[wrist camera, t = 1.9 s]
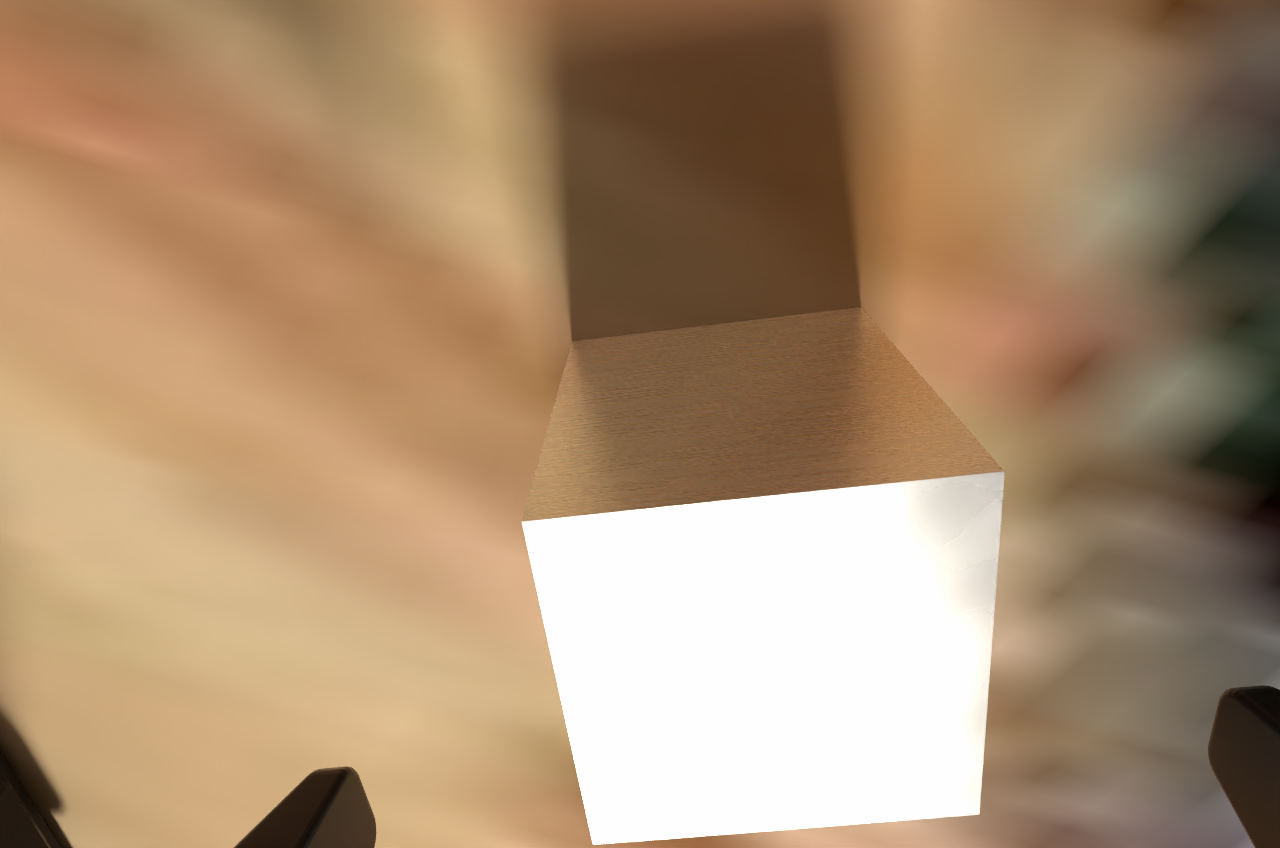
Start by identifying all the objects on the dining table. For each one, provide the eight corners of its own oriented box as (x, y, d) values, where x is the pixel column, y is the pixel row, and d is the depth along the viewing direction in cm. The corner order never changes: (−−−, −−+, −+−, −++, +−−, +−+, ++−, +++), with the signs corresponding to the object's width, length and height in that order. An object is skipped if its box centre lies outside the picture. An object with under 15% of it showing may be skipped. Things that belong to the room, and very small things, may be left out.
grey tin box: (612, 575, 16) (592, 844, 10) (572, 340, 14) (521, 522, 8) (863, 550, 16) (978, 814, 10) (860, 305, 13) (1004, 472, 8)
